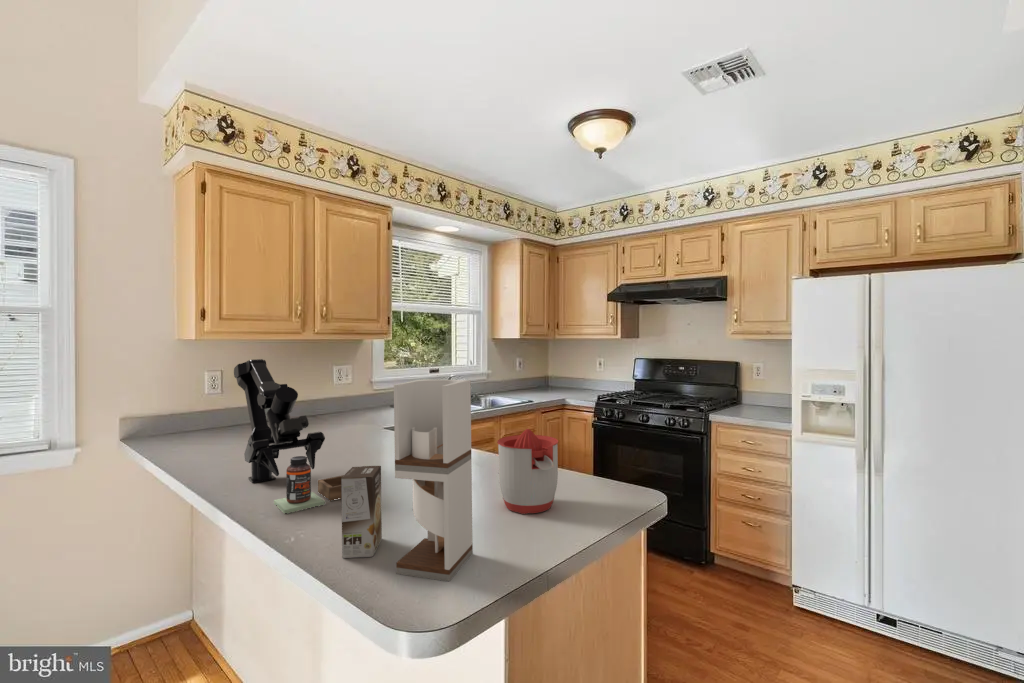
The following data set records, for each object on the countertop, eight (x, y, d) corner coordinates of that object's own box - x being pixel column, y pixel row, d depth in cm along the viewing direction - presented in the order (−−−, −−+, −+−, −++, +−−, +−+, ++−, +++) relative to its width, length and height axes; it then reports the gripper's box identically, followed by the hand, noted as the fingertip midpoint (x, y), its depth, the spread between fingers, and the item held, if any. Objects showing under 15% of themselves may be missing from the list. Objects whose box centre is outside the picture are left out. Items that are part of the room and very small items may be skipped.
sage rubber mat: (274, 503, 130) (274, 500, 130) (313, 495, 136) (312, 492, 136) (284, 514, 122) (284, 510, 122) (325, 504, 128) (325, 501, 128)
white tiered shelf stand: (424, 548, 102) (422, 379, 101) (472, 554, 98) (470, 380, 98) (396, 573, 91) (393, 384, 90) (449, 581, 88) (446, 385, 87)
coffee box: (374, 557, 98) (373, 477, 97) (341, 559, 97) (340, 478, 97) (382, 538, 107) (381, 464, 106) (352, 539, 106) (351, 465, 106)
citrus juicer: (519, 525, 113) (518, 438, 113) (488, 502, 129) (487, 426, 129) (575, 513, 121) (574, 431, 120) (539, 493, 136) (538, 421, 136)
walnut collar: (317, 492, 139) (317, 480, 139) (352, 485, 145) (352, 473, 145) (330, 501, 131) (330, 488, 131) (366, 493, 138) (365, 480, 138)
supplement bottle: (295, 505, 125) (294, 461, 125) (281, 501, 128) (281, 458, 128) (315, 499, 130) (315, 456, 130) (302, 495, 133) (301, 453, 133)
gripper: (250, 410, 128) (265, 460, 120) (322, 403, 140) (339, 448, 133) (242, 436, 134) (255, 485, 126) (311, 427, 146) (327, 471, 139)
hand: (296, 471), depth 131 cm, fingers open, 9 cm apart
